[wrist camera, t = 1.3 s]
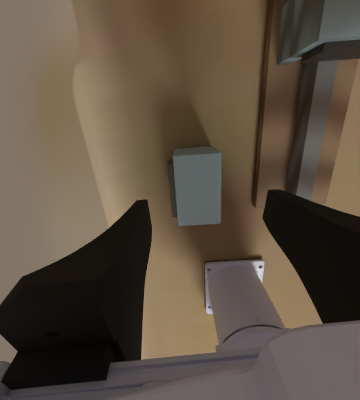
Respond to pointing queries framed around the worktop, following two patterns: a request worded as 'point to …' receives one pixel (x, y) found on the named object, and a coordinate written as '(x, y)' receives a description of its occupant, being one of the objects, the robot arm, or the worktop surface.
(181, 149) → the block
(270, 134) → the rail base
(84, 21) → the worktop surface
